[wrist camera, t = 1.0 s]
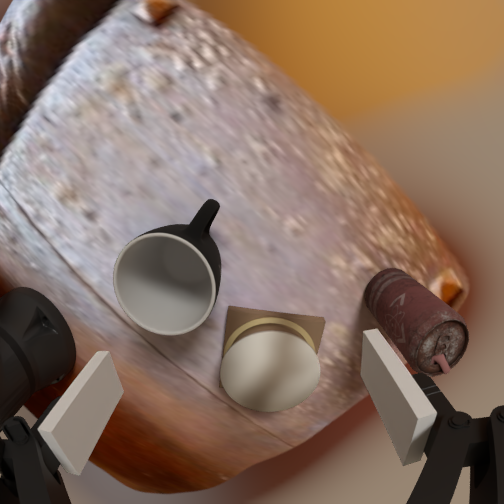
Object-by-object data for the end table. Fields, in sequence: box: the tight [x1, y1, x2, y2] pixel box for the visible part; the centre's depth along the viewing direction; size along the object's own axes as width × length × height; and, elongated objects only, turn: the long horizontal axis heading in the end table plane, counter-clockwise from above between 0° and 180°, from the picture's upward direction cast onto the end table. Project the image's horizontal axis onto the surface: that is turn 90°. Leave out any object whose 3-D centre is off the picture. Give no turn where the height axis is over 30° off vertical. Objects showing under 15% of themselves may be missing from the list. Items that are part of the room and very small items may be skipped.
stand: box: [219, 306, 325, 412], centre depth 35 cm, size 11×11×5 cm
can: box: [365, 268, 469, 377], centre depth 28 cm, size 6×6×14 cm
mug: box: [113, 199, 221, 336], centre depth 29 cm, size 12×9×10 cm
